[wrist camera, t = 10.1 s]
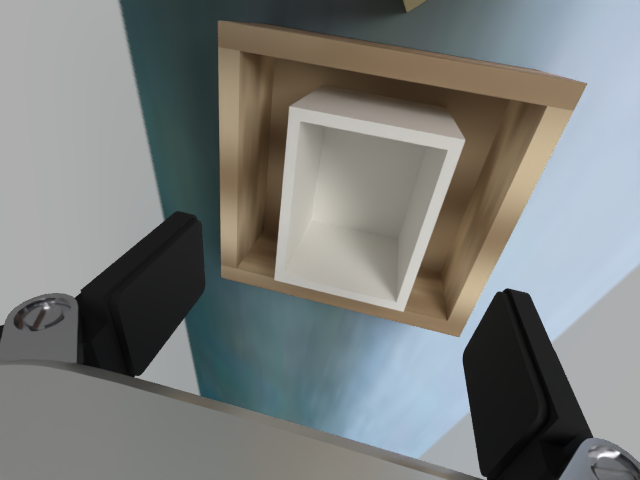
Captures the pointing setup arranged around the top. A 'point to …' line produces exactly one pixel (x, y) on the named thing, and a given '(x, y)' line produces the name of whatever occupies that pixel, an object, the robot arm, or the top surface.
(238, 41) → the pine crate
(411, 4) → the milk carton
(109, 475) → the robot arm
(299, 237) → the cream crate
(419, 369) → the top surface
